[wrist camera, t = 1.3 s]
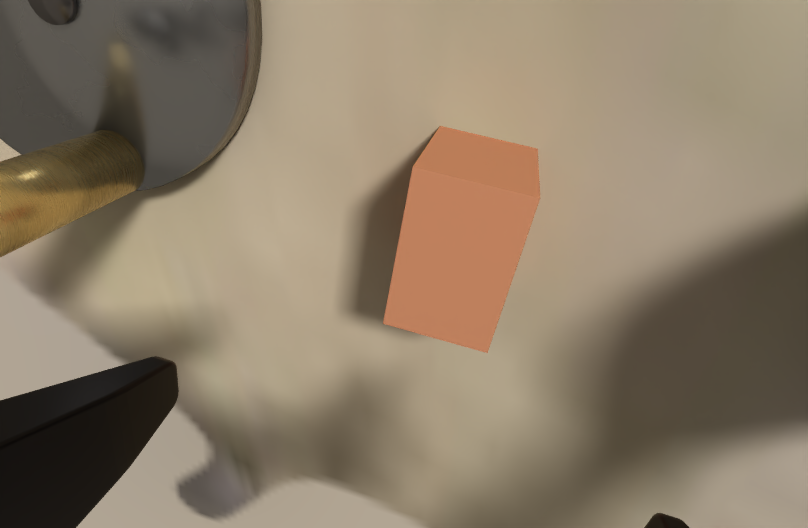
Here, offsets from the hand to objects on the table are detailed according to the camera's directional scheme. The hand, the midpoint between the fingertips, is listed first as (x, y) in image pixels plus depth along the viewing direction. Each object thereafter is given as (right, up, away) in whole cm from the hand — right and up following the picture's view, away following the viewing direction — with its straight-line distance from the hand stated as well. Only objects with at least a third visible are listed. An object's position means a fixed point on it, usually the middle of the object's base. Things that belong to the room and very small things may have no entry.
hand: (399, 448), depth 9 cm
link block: (+3, +6, +10) cm, 12 cm away
